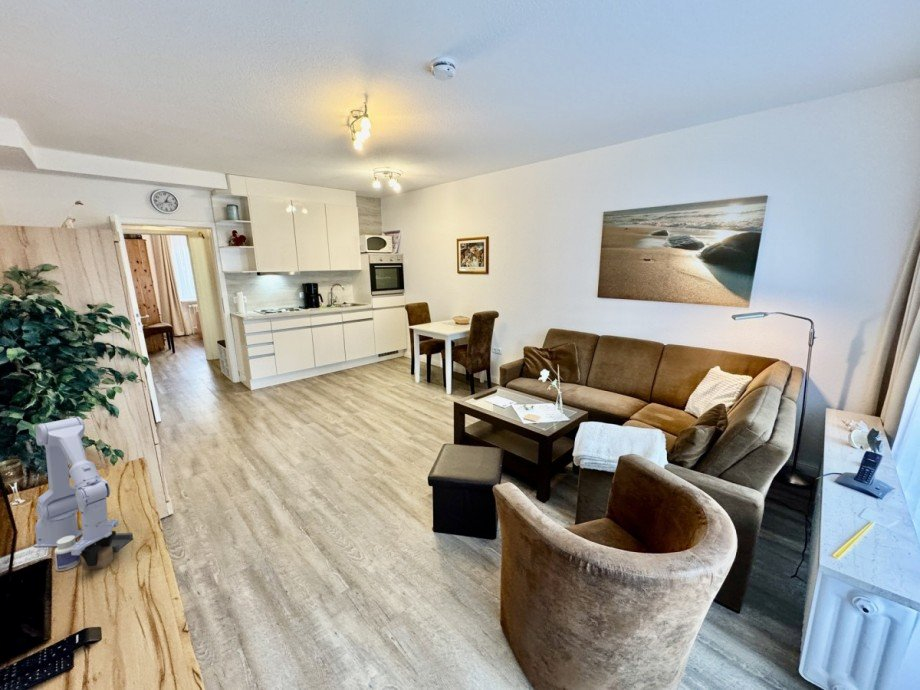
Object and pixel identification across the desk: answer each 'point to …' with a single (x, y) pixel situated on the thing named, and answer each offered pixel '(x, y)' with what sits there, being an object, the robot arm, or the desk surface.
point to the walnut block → (101, 559)
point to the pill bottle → (66, 554)
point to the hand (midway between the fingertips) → (97, 560)
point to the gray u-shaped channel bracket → (120, 541)
